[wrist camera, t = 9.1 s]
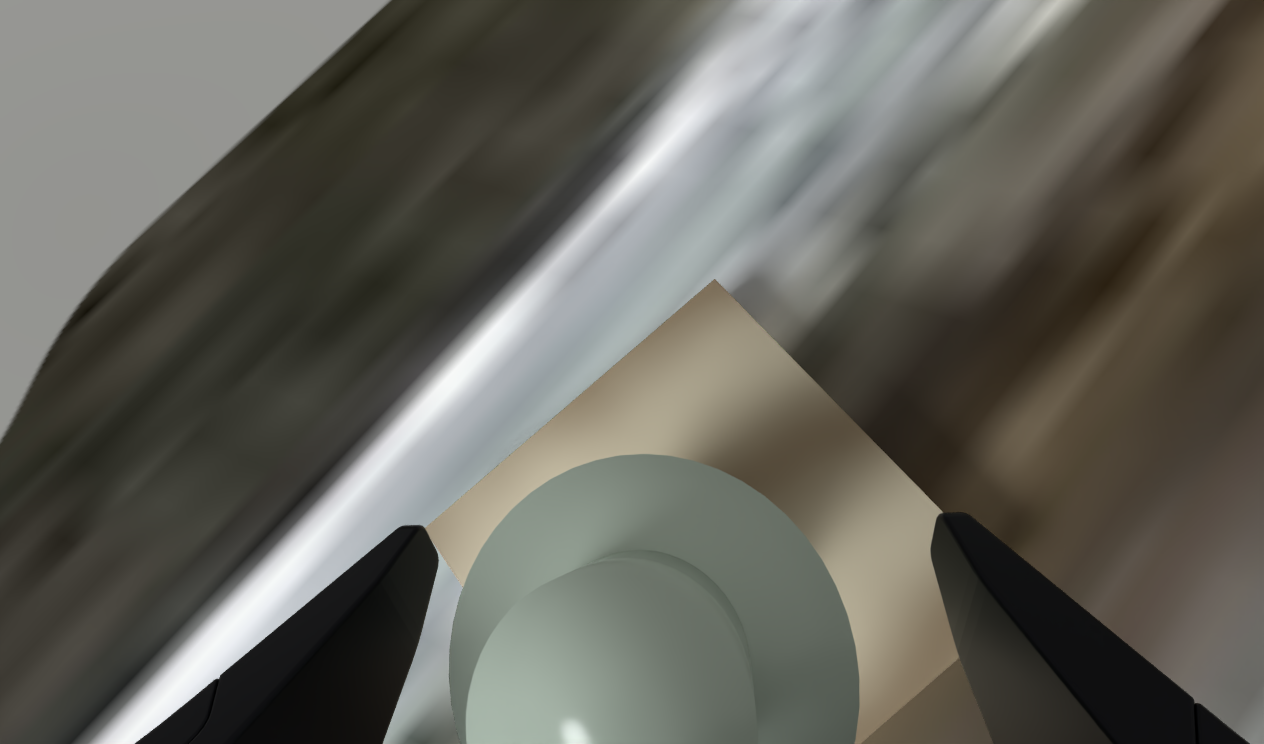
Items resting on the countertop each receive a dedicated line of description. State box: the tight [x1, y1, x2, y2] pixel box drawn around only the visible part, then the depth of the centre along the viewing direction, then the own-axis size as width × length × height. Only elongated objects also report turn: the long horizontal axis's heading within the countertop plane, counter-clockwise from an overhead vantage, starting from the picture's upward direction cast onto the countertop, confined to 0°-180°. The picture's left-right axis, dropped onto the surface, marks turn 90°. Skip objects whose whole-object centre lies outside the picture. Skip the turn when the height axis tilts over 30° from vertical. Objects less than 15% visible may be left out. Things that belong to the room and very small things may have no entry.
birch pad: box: [425, 279, 959, 744], centre depth 19 cm, size 13×13×2 cm
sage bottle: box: [449, 454, 860, 744], centre depth 11 cm, size 5×5×13 cm
